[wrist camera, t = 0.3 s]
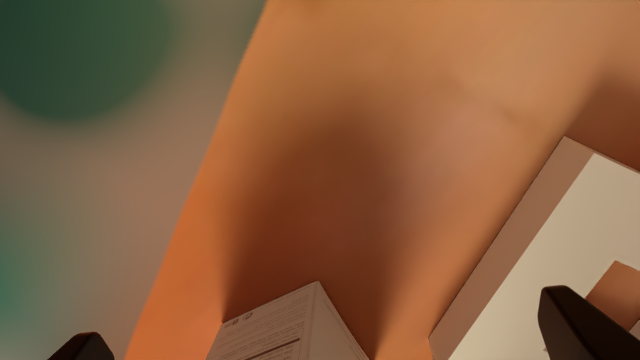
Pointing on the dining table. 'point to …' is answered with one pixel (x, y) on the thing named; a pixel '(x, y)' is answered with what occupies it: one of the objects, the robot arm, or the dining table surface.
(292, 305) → the supplement box
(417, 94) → the dining table surface
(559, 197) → the socket
